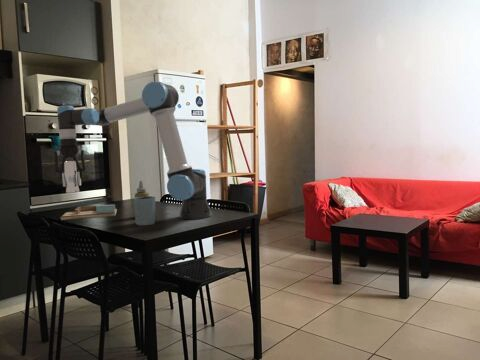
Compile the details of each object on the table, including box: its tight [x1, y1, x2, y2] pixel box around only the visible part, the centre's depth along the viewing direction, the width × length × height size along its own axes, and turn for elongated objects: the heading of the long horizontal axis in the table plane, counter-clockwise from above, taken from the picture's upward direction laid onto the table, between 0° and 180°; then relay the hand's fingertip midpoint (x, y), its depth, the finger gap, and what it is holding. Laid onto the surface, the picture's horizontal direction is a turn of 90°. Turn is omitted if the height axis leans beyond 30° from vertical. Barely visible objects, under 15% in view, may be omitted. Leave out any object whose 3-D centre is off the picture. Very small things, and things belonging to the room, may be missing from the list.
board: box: [60, 205, 118, 221], centre depth 222 cm, size 17×26×4 cm, turn 103°
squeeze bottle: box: [134, 180, 149, 198], centre depth 210 cm, size 8×8×18 cm
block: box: [95, 204, 116, 214], centre depth 218 cm, size 2×9×4 cm, turn 103°
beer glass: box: [63, 160, 80, 194], centre depth 205 cm, size 7×7×15 cm
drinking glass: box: [132, 195, 156, 226], centre depth 193 cm, size 10×10×12 cm
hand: (72, 185), depth 206 cm, fingers closed on beer glass, 6 cm apart
